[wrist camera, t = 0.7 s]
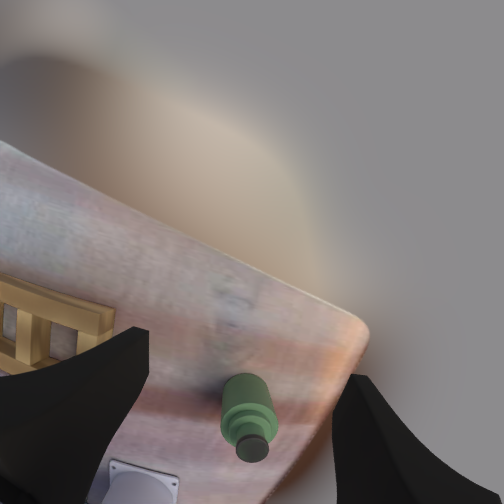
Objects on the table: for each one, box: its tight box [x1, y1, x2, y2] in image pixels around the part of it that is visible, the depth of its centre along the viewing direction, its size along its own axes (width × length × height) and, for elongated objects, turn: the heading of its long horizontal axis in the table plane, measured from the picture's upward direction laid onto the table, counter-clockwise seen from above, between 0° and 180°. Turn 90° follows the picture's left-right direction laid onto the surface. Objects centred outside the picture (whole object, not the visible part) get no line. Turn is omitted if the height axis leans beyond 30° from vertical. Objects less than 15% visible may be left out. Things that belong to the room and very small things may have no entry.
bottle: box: [221, 374, 278, 463], centre depth 23 cm, size 4×4×10 cm
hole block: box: [0, 272, 116, 375], centre depth 26 cm, size 9×17×4 cm, turn 79°
